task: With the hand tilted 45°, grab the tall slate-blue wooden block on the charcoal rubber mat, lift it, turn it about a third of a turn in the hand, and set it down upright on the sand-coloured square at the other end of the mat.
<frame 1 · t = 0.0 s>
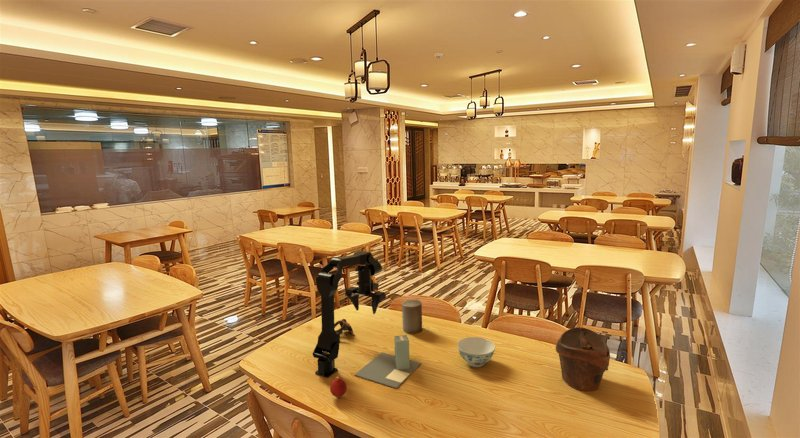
hand: (365, 312, 180), 15 cm above the table, tool pointing down, fingers open, 9 cm apart
mat: (388, 369, 159), on the table
pomegranate: (339, 397, 141), on the table
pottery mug: (343, 334, 191), on the table
chinaware: (475, 363, 162), on the table
block: (402, 366, 160), resting on mat
brown flower pot: (581, 382, 147), on the table
pillar candle: (412, 329, 195), on the table
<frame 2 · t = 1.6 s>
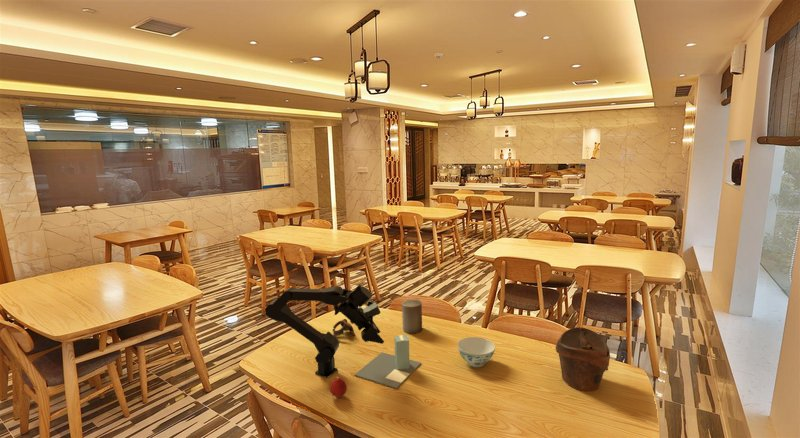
hand: (381, 337, 157), 13 cm above the table, tool tilted 45°, fingers open, 9 cm apart
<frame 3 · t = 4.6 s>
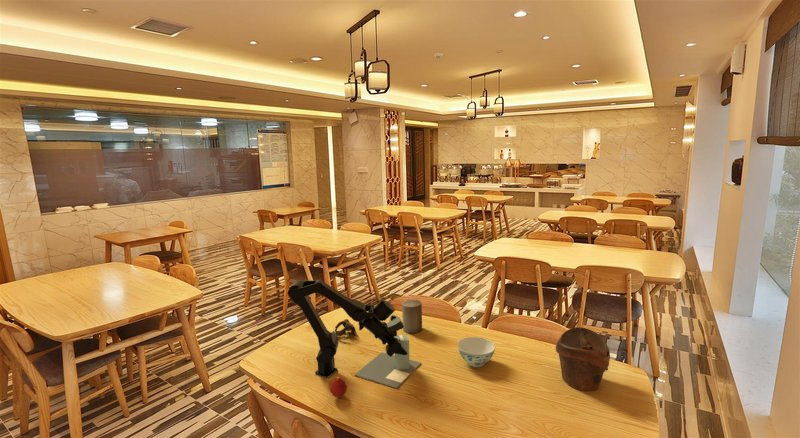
hand: (405, 351, 159), 7 cm above the table, tool tilted 45°, fingers closed on block, 5 cm apart
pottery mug: (346, 335, 191), on the table
block: (402, 366, 160), resting on mat, touching gripper
everything else where it was.
when the fingers open (8 cm above the table, at t = 9.1 s): block drops 1 cm, resting on mat.
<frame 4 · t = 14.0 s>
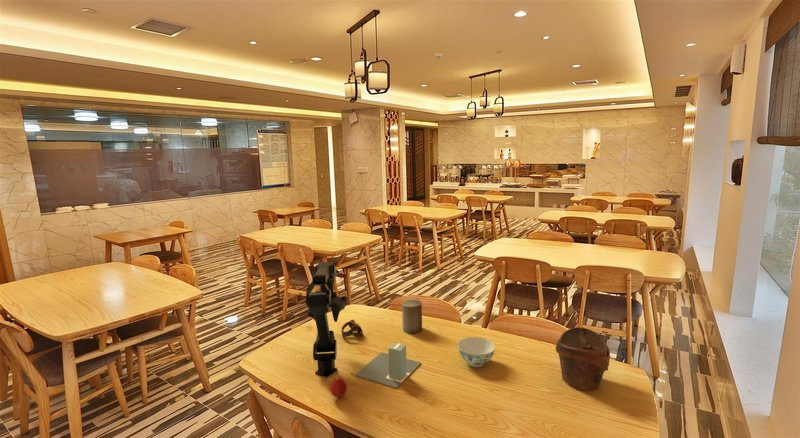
hand: (328, 325, 170), 13 cm above the table, tool pointing down, fingers open, 9 cm apart
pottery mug: (352, 335, 190), on the table
block: (397, 375, 153), point 1 cm above the table, touching mat
everything else where it was.
at the end: block 0.0 cm from the target spot on the mat, point 0.6 cm above the mat's base; block tilted 0°; the gripper is holding nothing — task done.
